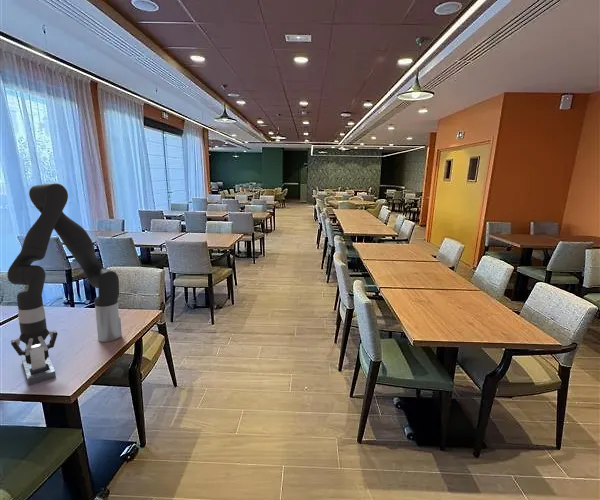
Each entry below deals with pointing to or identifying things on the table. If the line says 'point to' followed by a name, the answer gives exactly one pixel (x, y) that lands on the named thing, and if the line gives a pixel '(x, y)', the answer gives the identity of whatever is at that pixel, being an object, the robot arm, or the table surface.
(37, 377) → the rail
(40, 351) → the steel peg
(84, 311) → the table surface
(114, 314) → the robot arm
